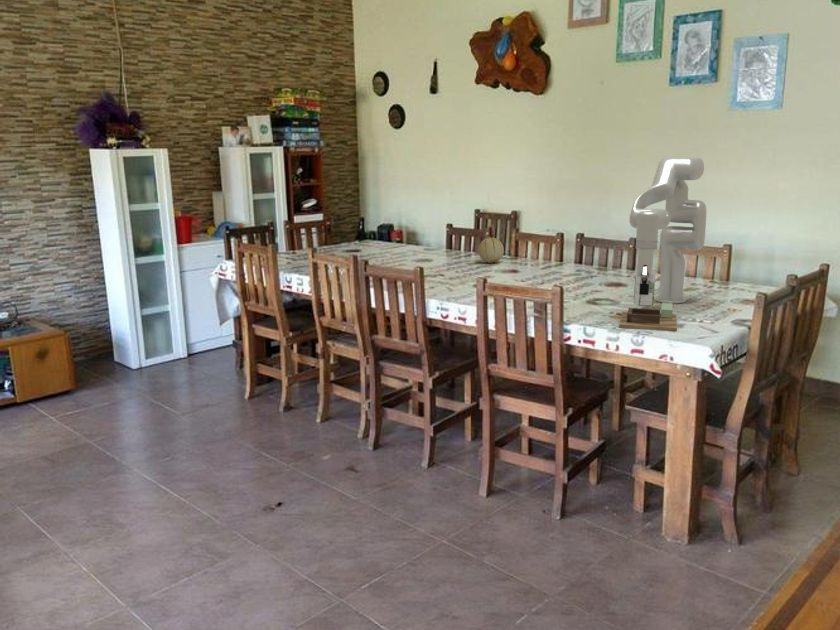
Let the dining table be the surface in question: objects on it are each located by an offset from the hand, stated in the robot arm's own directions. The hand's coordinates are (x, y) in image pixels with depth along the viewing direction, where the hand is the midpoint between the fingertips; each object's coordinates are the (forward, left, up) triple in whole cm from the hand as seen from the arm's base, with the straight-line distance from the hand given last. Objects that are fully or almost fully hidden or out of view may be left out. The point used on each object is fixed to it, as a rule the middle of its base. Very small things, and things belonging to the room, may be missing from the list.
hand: (644, 292), depth 271 cm
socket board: (-1, +2, -12) cm, 12 cm away
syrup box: (0, 0, -5) cm, 5 cm away
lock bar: (-10, +8, -10) cm, 17 cm away
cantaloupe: (-124, -87, -12) cm, 152 cm away
